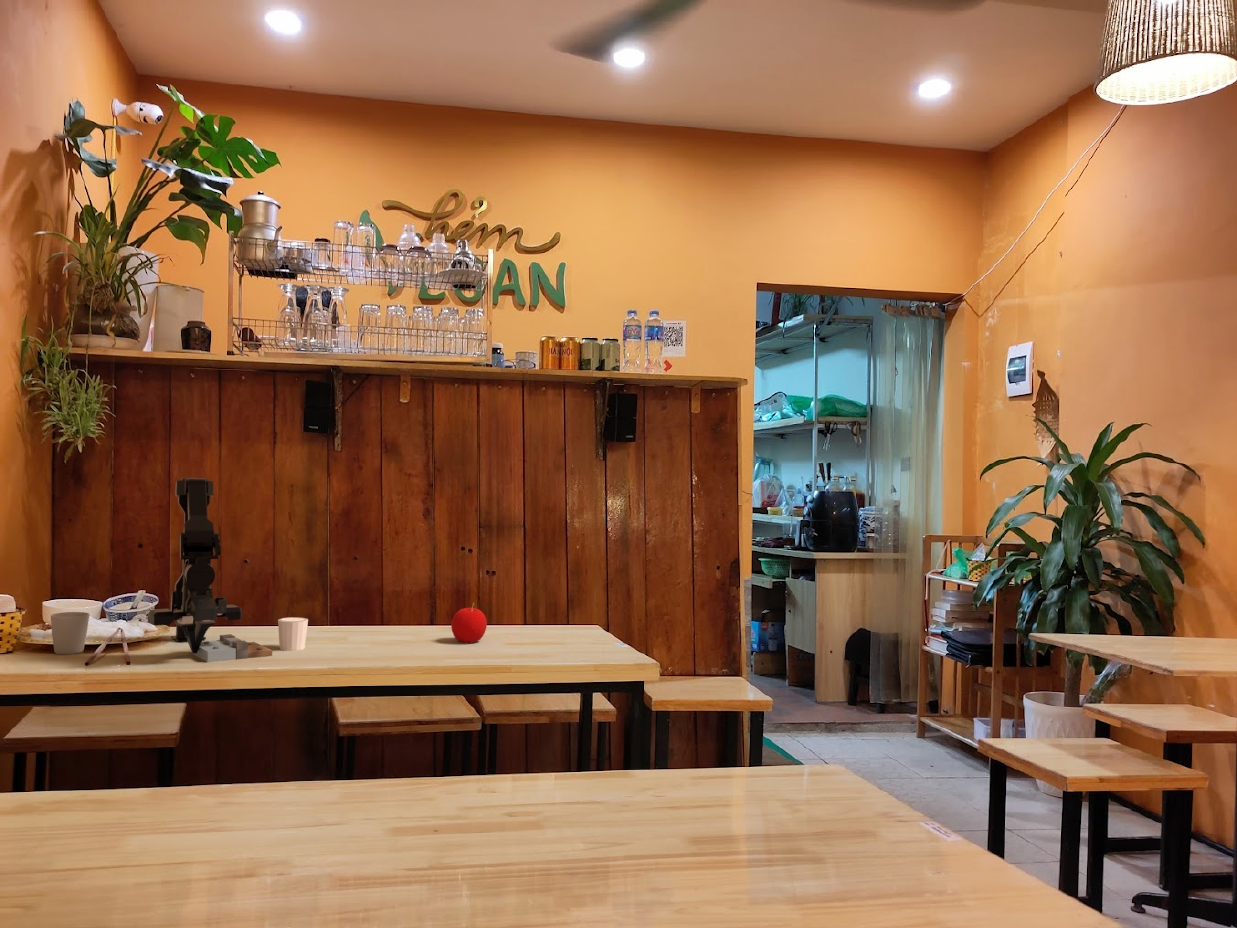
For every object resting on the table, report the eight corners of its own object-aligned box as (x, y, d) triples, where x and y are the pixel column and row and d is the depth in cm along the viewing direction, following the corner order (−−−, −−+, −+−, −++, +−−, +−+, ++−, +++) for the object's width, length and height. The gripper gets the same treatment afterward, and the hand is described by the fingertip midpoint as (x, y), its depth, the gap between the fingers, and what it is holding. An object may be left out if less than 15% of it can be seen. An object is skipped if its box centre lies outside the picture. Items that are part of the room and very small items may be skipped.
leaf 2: (236, 659, 212) (237, 643, 212) (219, 650, 221) (219, 635, 221) (272, 655, 217) (272, 640, 217) (253, 646, 226) (254, 632, 226)
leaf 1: (207, 662, 208) (207, 647, 208) (191, 653, 217) (191, 638, 217) (247, 658, 213) (247, 642, 213) (229, 649, 222) (229, 634, 222)
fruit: (483, 645, 238) (484, 605, 238) (447, 644, 238) (449, 604, 238) (488, 638, 247) (490, 600, 247) (454, 637, 247) (455, 599, 247)
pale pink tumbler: (311, 646, 229) (313, 617, 229) (299, 651, 222) (300, 622, 222) (284, 644, 230) (285, 616, 230) (271, 650, 223) (272, 620, 223)
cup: (45, 655, 208) (46, 617, 208) (56, 647, 218) (57, 610, 218) (84, 654, 211) (85, 616, 211) (93, 646, 220) (95, 609, 220)
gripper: (162, 590, 200) (159, 663, 199) (251, 585, 212) (249, 655, 212) (148, 584, 208) (145, 654, 208) (235, 580, 220) (232, 647, 220)
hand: (194, 653), depth 212 cm, fingers closed
